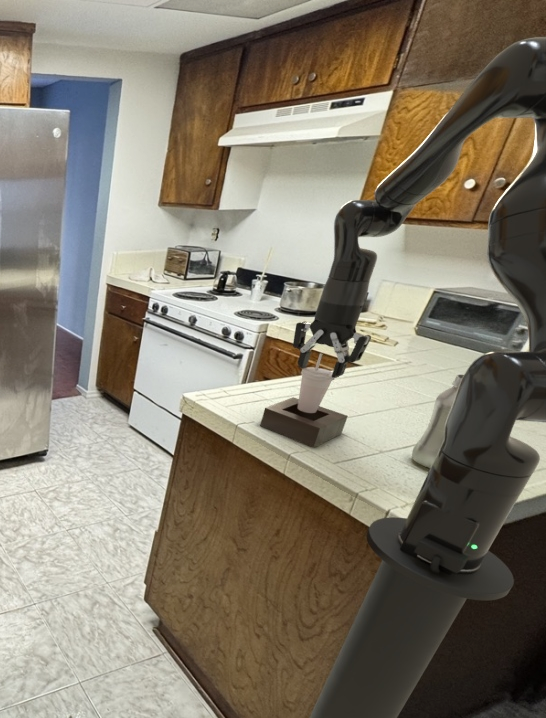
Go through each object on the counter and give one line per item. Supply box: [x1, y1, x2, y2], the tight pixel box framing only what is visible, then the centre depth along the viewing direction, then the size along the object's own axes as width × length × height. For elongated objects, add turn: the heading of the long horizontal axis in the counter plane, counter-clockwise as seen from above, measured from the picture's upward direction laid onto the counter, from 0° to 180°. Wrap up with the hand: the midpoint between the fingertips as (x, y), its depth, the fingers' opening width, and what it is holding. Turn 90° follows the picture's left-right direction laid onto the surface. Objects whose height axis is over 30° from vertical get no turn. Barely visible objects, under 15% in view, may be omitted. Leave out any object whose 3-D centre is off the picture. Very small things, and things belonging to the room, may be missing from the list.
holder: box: [259, 396, 349, 448], centre depth 112 cm, size 12×12×5 cm
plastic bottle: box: [411, 374, 464, 469], centre depth 95 cm, size 6×7×20 cm
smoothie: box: [298, 352, 336, 413], centre depth 108 cm, size 6×6×14 cm
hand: (318, 371), depth 107 cm, fingers closed on smoothie, 6 cm apart
